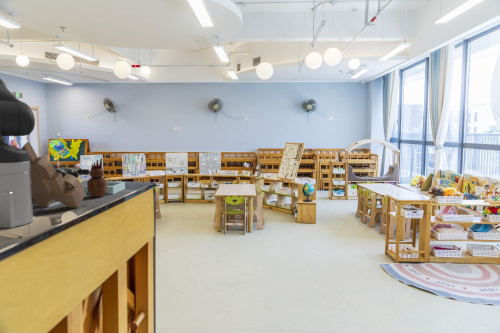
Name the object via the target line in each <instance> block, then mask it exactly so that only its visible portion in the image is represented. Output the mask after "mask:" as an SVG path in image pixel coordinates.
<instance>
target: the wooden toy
mask: <svg viewBox="0 0 500 333" xmlns="http://www.w3.org/2000/svg"><path fill="white" fill-rule="evenodd" d="M21 149H24V150H27V151H28V152H29V155H30V170H31V187H32V200H33V201H34V202H35V204H36V206H37V207H38V208H49V207H50V206H51V204H52V203H53V202H59V203H62V204H64V205H65V206H66V207H67V208H72V209H73V208H74V209H75V208H76V209H79V208H80V206H81V204H82V203H83V200H84V198H85V196H86V195H87V194H85V192H84V187H83V185H82V183H81V182H80V180H79V179H78V178H76V177H74V176H72V175H70V174H66V175H65V176H64V177H62V175H61V173H56V172H55V170H54V168H53V166H52V164H51V161H50V160H48V159H46V158H44V157H42V156H41V157H40V156H38V155H37V153H36V151H35V149H34V148H33V146H32V144H31V142H30V141H27V142H26V143H24V145H23V146H22V147H21Z"/></svg>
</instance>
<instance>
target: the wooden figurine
mask: <svg viewBox="0 0 500 333" xmlns="http://www.w3.org/2000/svg"><path fill="white" fill-rule="evenodd" d="M89 170H90V174H89V176H90V178H89V179H88V180H87V182H86V183H87V184H86V185H87V189H88V192H89V194H88V195H89V196H90V197H92V198H102V197H104V196H105V195H106V194H105V193H106V189H107V182H108V181H107V180H106V178H104V177H103V176H104V173H105V172H104V169H103V158H102V157H101V158H100V161H99V160H98V159H96V162H94V161H93V164H91V168H90V169H89Z"/></svg>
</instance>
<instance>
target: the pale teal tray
mask: <svg viewBox="0 0 500 333" xmlns="http://www.w3.org/2000/svg"><path fill="white" fill-rule="evenodd" d="M106 182H107V189H106V193H105V195H115V194H117V193H119V192H121V191H123V190H125V189H126V182H125V181H106ZM83 190H84V192H85V193H89V192H88V189H87V184H86V185H84V186H83Z"/></svg>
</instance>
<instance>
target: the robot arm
mask: <svg viewBox="0 0 500 333" xmlns="http://www.w3.org/2000/svg"><path fill="white" fill-rule="evenodd" d="M35 118H36V117H35V115H34V112H33V110H32V108H31V107H30V106H29V105H28V104H27V103H26V102H24V101H21V100H19V99H18V98H17V97H16V96H15V95H14V93H12V92H11V91H10V90H9V89H8V87H7V85H6V83H5V82H4V80H2V79H1V78H0V228H5V229H7V228H8V229H9V228H11V229H12V228H15V227H20V226H24V225H28V224H30V223H32V222H33V221H34V208H33V207H34V206H33V205H34V204H33V198H32V187H31V170H30V155H29V152H28V151H27V150H24V149H22V148H19V147H17V146H16V147H15V146H14V145H13V146H12V145H11V144H8V143H7V141H6V137H25V136H28V135H30V134H32V133H33V131H34V129H35V125H36V119H35ZM51 164H52V166H53V168H54V170H55V172H56V173H61V175H62V177H64V176H65V175H66V174H70V175H72V176H74V177H76V178H77V179H78V178H79V176H90V170H91V169H89V168H87V169H85V168H81V167H60V168H59V166H58V165H57V164H55V163H51Z"/></svg>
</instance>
